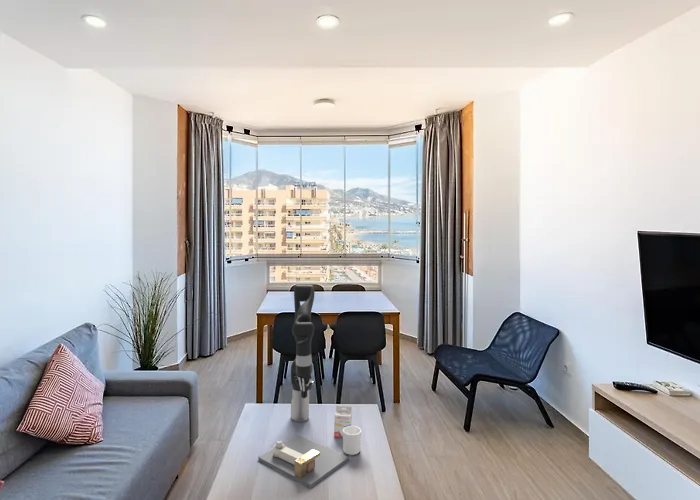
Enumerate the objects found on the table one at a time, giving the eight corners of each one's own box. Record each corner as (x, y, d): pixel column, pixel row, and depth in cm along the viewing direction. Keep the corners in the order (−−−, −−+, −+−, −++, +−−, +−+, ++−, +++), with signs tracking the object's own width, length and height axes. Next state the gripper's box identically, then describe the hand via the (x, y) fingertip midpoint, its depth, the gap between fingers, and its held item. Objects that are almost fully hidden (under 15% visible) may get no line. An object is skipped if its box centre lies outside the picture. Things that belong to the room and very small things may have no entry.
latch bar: (270, 454, 188) (270, 443, 188) (279, 449, 193) (279, 438, 192) (307, 472, 175) (307, 460, 175) (316, 466, 180) (316, 454, 179)
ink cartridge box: (333, 437, 209) (334, 409, 208) (335, 432, 214) (335, 405, 213) (350, 438, 208) (351, 410, 207) (351, 433, 213) (352, 406, 212)
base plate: (258, 460, 187) (258, 457, 187) (298, 437, 208) (298, 434, 208) (310, 488, 168) (310, 484, 168) (348, 460, 189) (348, 457, 188)
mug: (359, 457, 191) (359, 436, 191) (340, 455, 193) (340, 433, 192) (363, 445, 202) (363, 425, 201) (345, 443, 204) (345, 423, 203)
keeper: (294, 478, 174) (294, 460, 173) (312, 466, 183) (313, 449, 183) (301, 482, 171) (301, 463, 171) (319, 469, 181) (319, 452, 180)
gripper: (288, 362, 199) (289, 396, 200) (308, 368, 191) (308, 404, 192) (299, 358, 205) (300, 391, 206) (319, 363, 197) (319, 398, 198)
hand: (304, 397), depth 199 cm, fingers closed
